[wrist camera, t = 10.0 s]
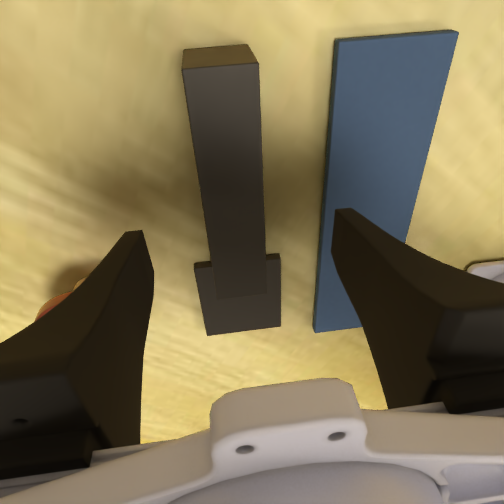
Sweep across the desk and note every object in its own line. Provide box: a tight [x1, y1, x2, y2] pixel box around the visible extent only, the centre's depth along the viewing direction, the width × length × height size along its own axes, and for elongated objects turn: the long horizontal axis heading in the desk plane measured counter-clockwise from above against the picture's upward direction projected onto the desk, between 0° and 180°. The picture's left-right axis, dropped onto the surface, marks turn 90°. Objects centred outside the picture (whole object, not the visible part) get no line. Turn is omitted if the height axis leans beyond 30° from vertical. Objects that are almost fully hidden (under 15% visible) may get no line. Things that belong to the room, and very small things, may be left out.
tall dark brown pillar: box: [182, 44, 281, 336], centre depth 19 cm, size 17×5×3 cm, turn 3°
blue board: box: [313, 30, 459, 333], centre depth 21 cm, size 18×5×1 cm, turn 3°
